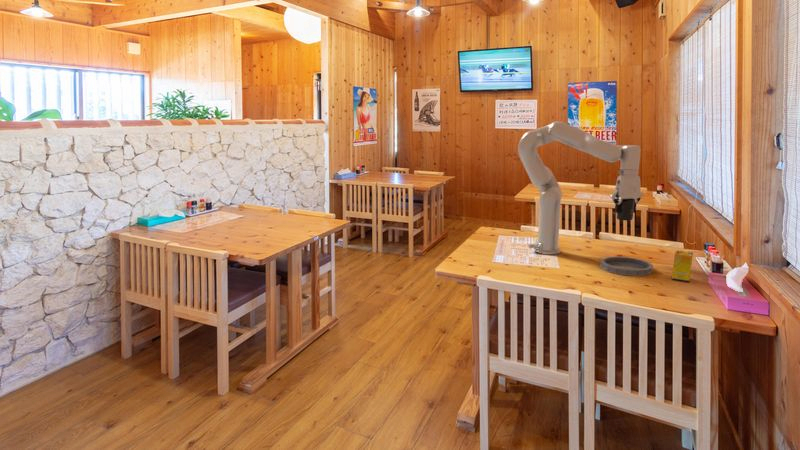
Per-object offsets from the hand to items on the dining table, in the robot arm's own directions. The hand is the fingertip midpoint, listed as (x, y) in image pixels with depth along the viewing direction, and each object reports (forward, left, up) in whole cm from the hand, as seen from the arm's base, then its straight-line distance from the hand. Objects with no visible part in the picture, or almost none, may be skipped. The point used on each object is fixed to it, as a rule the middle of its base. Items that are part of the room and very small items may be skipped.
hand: (625, 212), depth 209 cm
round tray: (-8, -15, -22) cm, 28 cm away
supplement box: (+4, -32, -22) cm, 39 cm away
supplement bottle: (0, 0, -4) cm, 4 cm away
